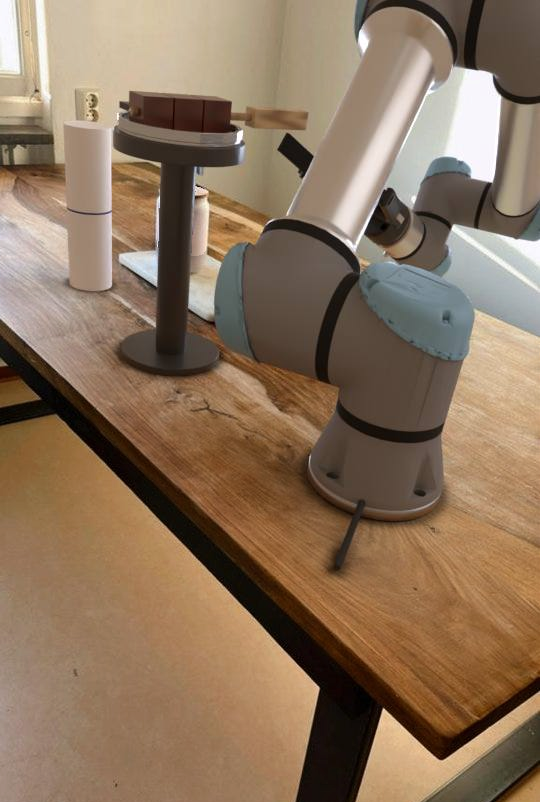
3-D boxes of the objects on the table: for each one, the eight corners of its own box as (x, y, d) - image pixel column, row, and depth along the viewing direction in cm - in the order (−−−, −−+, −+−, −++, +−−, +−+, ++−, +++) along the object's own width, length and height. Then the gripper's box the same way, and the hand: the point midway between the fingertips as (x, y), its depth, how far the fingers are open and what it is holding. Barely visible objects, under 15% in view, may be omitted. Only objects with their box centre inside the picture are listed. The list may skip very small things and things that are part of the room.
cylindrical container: (70, 290, 116) (63, 126, 103) (68, 276, 122) (62, 118, 108) (113, 291, 119) (113, 130, 105) (110, 277, 124) (109, 123, 110)
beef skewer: (292, 132, 95) (296, 101, 93) (308, 138, 93) (313, 106, 91) (123, 126, 82) (124, 90, 80) (138, 132, 79) (138, 95, 77)
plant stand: (169, 310, 114) (178, 103, 97) (246, 368, 100) (272, 136, 83) (76, 322, 106) (68, 97, 89) (145, 387, 91) (150, 132, 74)
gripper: (432, 270, 105) (354, 199, 89) (329, 224, 121) (248, 157, 105) (460, 225, 103) (386, 144, 87) (353, 184, 119) (274, 110, 103)
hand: (311, 151), depth 96 cm, fingers open, 13 cm apart
